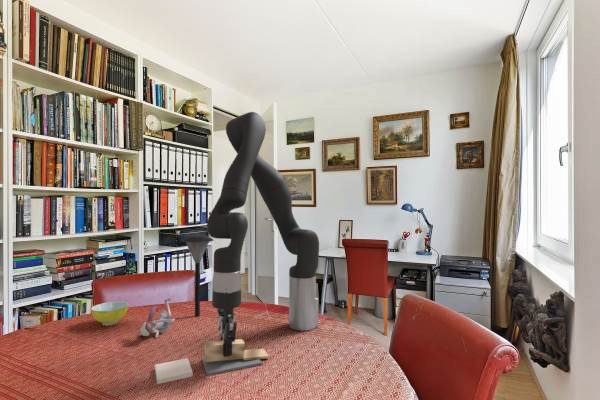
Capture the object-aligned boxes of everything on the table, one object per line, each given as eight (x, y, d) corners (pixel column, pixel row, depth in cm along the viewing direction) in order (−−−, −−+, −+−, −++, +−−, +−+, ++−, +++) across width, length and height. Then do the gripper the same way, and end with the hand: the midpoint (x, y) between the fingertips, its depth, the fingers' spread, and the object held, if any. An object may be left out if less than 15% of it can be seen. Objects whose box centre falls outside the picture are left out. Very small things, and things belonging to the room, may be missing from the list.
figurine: (177, 336, 113) (151, 348, 99) (155, 329, 115) (126, 340, 100) (187, 302, 115) (162, 309, 100) (164, 296, 117) (137, 301, 102)
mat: (252, 350, 96) (252, 348, 96) (261, 364, 88) (261, 362, 88) (202, 359, 90) (202, 357, 90) (206, 375, 82) (206, 373, 82)
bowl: (127, 316, 125) (127, 299, 125) (129, 325, 115) (129, 307, 115) (91, 321, 119) (91, 304, 119) (90, 332, 109) (90, 313, 110)
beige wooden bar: (263, 350, 95) (264, 336, 95) (269, 358, 91) (270, 343, 91) (202, 355, 88) (204, 339, 89) (205, 363, 84) (207, 347, 84)
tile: (187, 358, 89) (154, 364, 85) (192, 371, 82) (157, 379, 78) (187, 364, 89) (154, 370, 85) (192, 378, 82) (157, 386, 78)
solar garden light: (189, 310, 132) (189, 234, 132) (219, 311, 130) (219, 234, 131) (173, 320, 120) (174, 237, 120) (206, 322, 118) (206, 237, 119)
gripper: (208, 282, 94) (207, 345, 93) (217, 295, 81) (216, 367, 80) (235, 280, 97) (234, 340, 96) (247, 292, 84) (246, 362, 83)
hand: (226, 352), depth 88 cm, fingers closed on beige wooden bar, 3 cm apart
